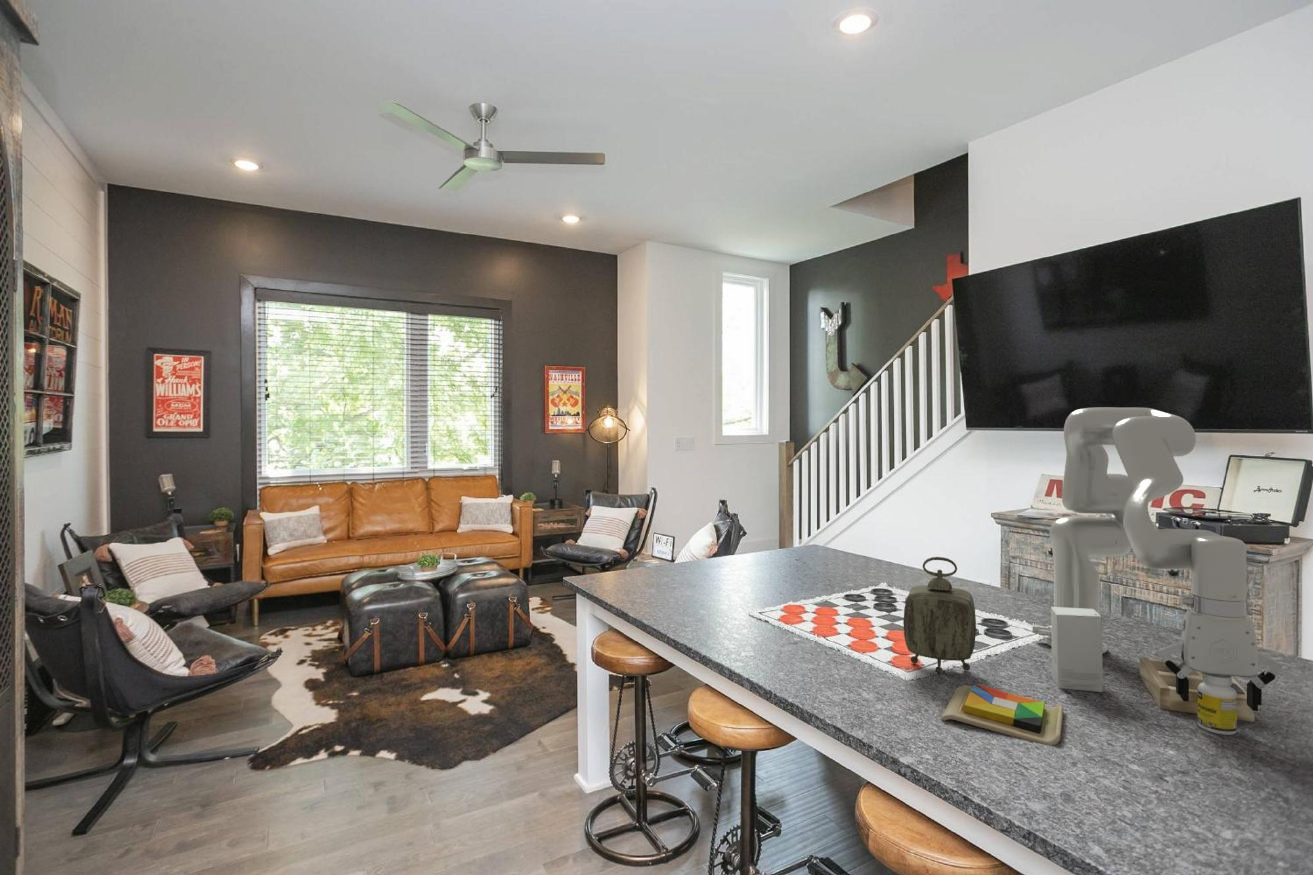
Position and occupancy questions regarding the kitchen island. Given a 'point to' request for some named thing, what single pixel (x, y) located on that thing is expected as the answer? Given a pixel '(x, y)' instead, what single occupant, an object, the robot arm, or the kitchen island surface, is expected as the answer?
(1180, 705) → the socket block
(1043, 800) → the kitchen island surface
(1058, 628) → the skincare box
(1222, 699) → the supplement bottle
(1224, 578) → the robot arm
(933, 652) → the tabletop clock
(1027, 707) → the wooden puzzle
